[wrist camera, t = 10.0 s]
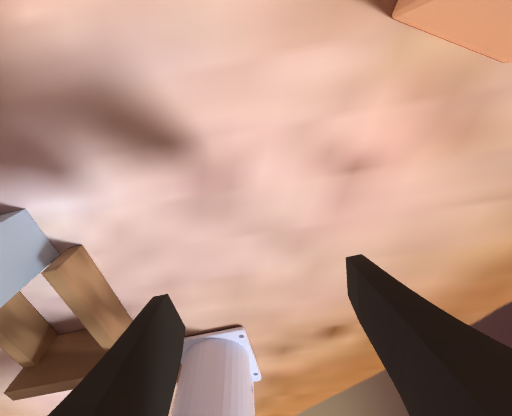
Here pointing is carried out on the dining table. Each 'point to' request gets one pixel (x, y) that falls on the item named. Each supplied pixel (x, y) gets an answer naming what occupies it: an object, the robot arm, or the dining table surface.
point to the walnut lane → (64, 345)
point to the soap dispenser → (463, 23)
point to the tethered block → (21, 252)
